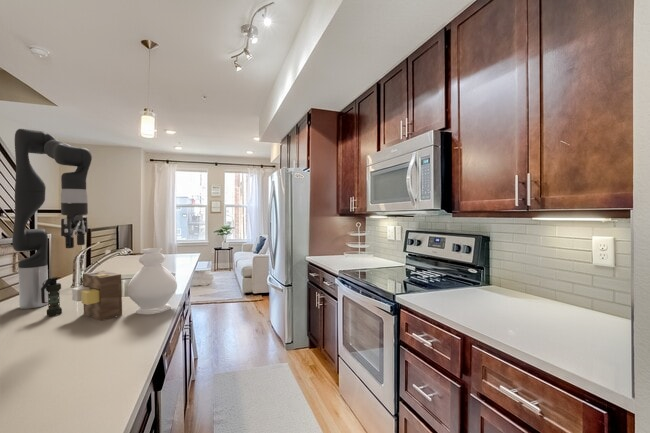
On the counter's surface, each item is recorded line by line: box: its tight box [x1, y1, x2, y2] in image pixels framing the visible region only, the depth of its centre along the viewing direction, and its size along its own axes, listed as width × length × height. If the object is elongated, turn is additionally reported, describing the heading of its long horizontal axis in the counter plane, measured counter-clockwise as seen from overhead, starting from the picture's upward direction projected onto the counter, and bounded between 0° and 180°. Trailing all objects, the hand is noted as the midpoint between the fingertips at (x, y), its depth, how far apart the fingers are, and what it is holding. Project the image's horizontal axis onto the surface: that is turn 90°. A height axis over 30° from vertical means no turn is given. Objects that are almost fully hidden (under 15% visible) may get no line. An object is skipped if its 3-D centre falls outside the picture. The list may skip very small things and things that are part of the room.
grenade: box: [41, 276, 63, 317], centre depth 122 cm, size 6×6×15 cm
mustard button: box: [81, 289, 100, 305], centre depth 116 cm, size 4×6×4 cm
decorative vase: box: [127, 247, 178, 315], centre depth 128 cm, size 18×18×25 cm
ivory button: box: [71, 286, 90, 303], centre depth 120 cm, size 4×6×4 cm
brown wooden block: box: [82, 270, 123, 322], centre depth 122 cm, size 15×7×16 cm, turn 58°
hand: (75, 246), depth 113 cm, fingers open, 8 cm apart
